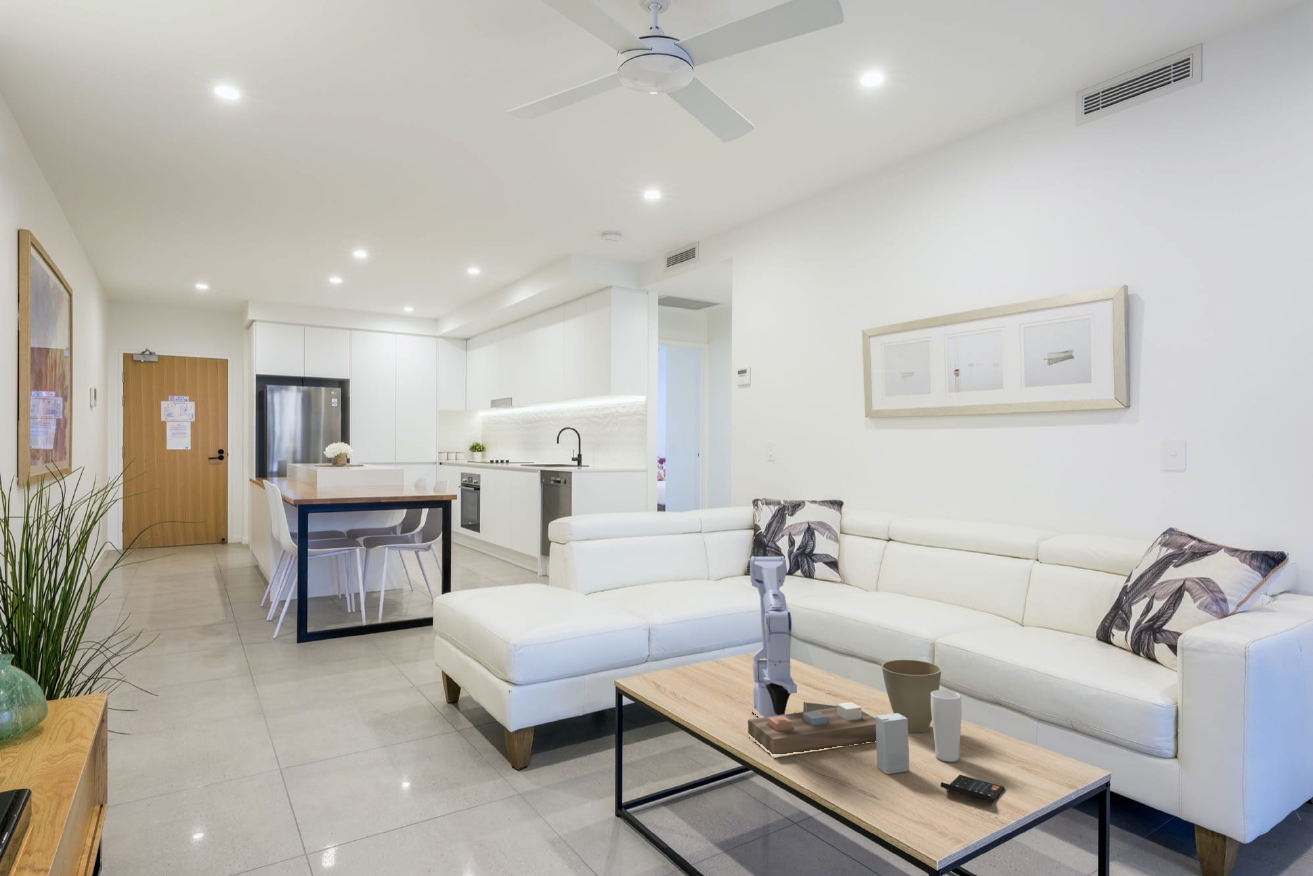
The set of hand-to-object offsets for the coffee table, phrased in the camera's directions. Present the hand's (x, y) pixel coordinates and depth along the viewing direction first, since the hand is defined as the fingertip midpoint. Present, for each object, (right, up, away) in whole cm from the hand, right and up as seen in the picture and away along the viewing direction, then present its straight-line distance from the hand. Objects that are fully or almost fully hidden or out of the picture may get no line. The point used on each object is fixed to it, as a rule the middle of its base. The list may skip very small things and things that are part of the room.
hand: (779, 713), depth 178 cm
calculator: (+36, -7, -27) cm, 46 cm away
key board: (+10, -8, +3) cm, 13 cm away
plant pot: (+37, -8, +10) cm, 39 cm away
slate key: (+10, -5, +3) cm, 11 cm away
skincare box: (+23, -7, -16) cm, 29 cm away
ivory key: (+19, -4, +6) cm, 20 cm away
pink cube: (0, -5, 0) cm, 5 cm away
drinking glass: (+38, -7, -10) cm, 40 cm away
